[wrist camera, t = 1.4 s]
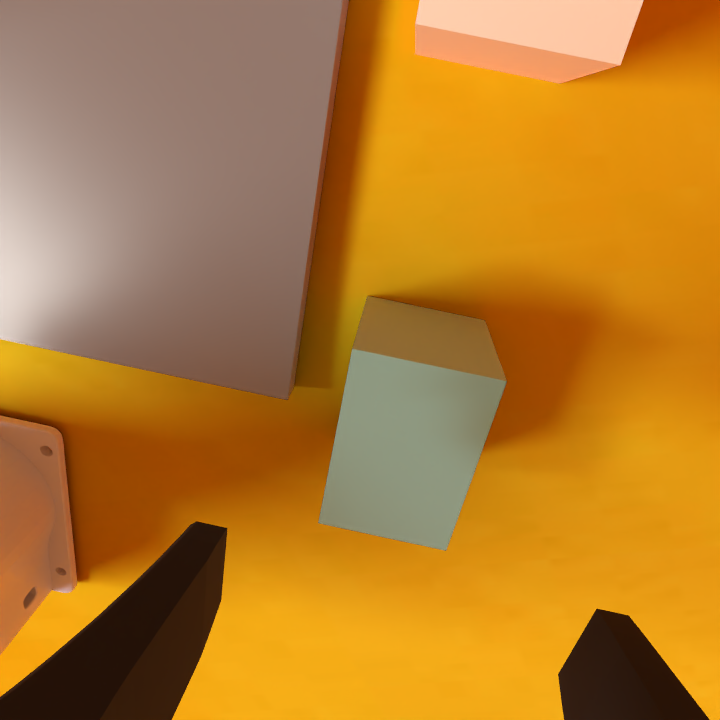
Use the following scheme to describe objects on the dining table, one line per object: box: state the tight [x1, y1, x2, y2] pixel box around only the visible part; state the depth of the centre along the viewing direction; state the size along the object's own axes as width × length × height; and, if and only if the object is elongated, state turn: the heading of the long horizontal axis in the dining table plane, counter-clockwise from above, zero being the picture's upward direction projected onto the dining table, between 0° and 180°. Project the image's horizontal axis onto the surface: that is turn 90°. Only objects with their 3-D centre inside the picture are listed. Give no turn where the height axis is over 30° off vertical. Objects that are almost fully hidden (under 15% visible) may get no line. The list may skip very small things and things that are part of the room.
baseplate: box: [0, 0, 349, 400], centre depth 14 cm, size 20×14×1 cm
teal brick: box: [318, 296, 507, 550], centre depth 16 cm, size 6×4×4 cm, turn 170°
